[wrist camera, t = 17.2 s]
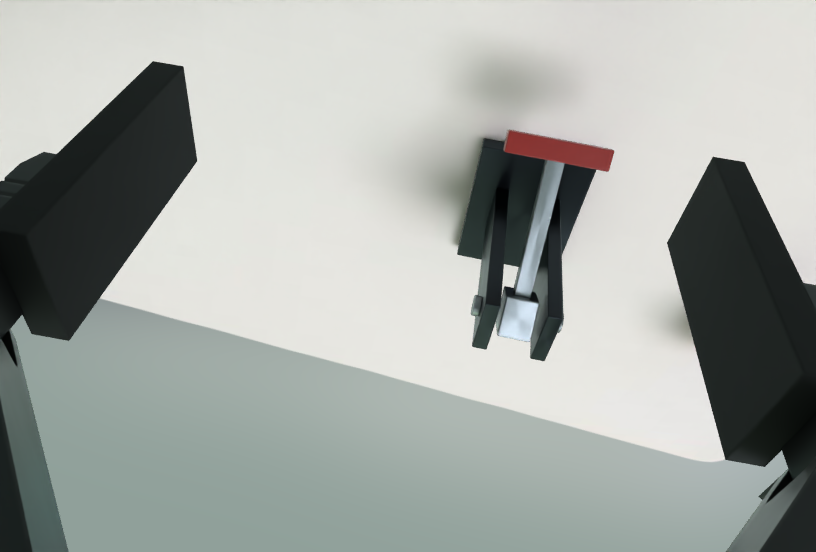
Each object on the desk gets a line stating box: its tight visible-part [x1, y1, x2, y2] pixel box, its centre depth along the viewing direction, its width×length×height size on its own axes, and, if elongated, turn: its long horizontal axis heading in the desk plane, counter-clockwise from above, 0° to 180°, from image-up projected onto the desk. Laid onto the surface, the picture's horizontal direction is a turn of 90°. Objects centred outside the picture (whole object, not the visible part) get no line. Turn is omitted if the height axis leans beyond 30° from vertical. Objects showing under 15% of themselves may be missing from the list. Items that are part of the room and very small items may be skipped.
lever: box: [496, 130, 614, 342], centre depth 40 cm, size 13×6×2 cm, turn 174°
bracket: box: [457, 139, 596, 361], centre depth 45 cm, size 11×8×14 cm
